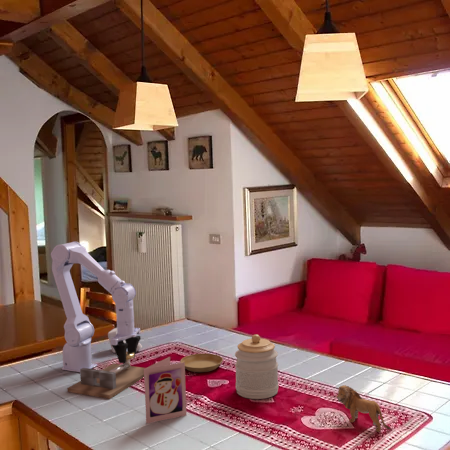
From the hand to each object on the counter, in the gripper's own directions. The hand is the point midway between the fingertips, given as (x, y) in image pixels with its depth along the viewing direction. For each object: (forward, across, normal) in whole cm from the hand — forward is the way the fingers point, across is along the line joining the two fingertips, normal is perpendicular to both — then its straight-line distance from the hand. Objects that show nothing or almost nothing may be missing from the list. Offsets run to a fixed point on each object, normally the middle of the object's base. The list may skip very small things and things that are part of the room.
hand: (127, 360), depth 189 cm
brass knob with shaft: (+2, -4, 0) cm, 5 cm away
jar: (+5, 0, -47) cm, 47 cm away
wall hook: (+5, +20, +14) cm, 25 cm away
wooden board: (+4, -9, 0) cm, 10 cm away
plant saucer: (+5, +14, -21) cm, 26 cm away
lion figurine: (+5, -10, -80) cm, 81 cm away
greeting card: (+5, -25, -29) cm, 38 cm away
